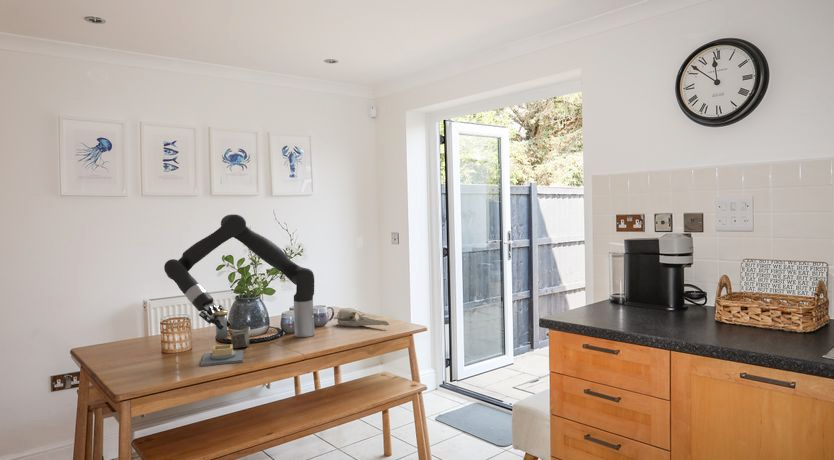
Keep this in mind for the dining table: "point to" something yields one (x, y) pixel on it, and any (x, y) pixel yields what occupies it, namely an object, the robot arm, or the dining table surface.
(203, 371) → the dining table surface
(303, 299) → the robot arm
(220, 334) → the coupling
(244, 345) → the rock
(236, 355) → the grey tray with block
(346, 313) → the bird skull
